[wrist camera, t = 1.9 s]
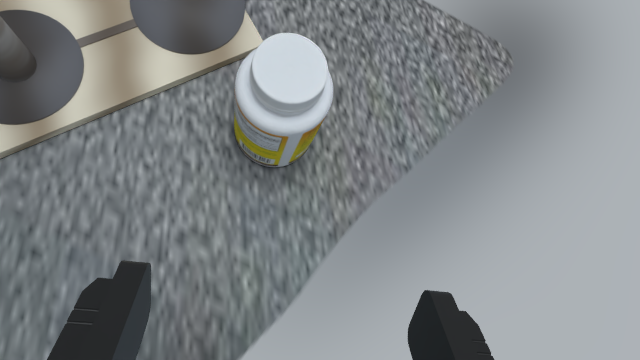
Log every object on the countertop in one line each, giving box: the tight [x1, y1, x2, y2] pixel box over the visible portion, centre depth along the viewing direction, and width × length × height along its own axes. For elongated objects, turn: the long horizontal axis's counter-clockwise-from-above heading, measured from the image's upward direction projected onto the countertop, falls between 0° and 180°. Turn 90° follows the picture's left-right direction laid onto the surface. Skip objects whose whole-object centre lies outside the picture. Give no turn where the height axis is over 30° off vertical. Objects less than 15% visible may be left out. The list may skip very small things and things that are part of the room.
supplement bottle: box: [234, 33, 333, 167], centre depth 28 cm, size 6×6×10 cm
